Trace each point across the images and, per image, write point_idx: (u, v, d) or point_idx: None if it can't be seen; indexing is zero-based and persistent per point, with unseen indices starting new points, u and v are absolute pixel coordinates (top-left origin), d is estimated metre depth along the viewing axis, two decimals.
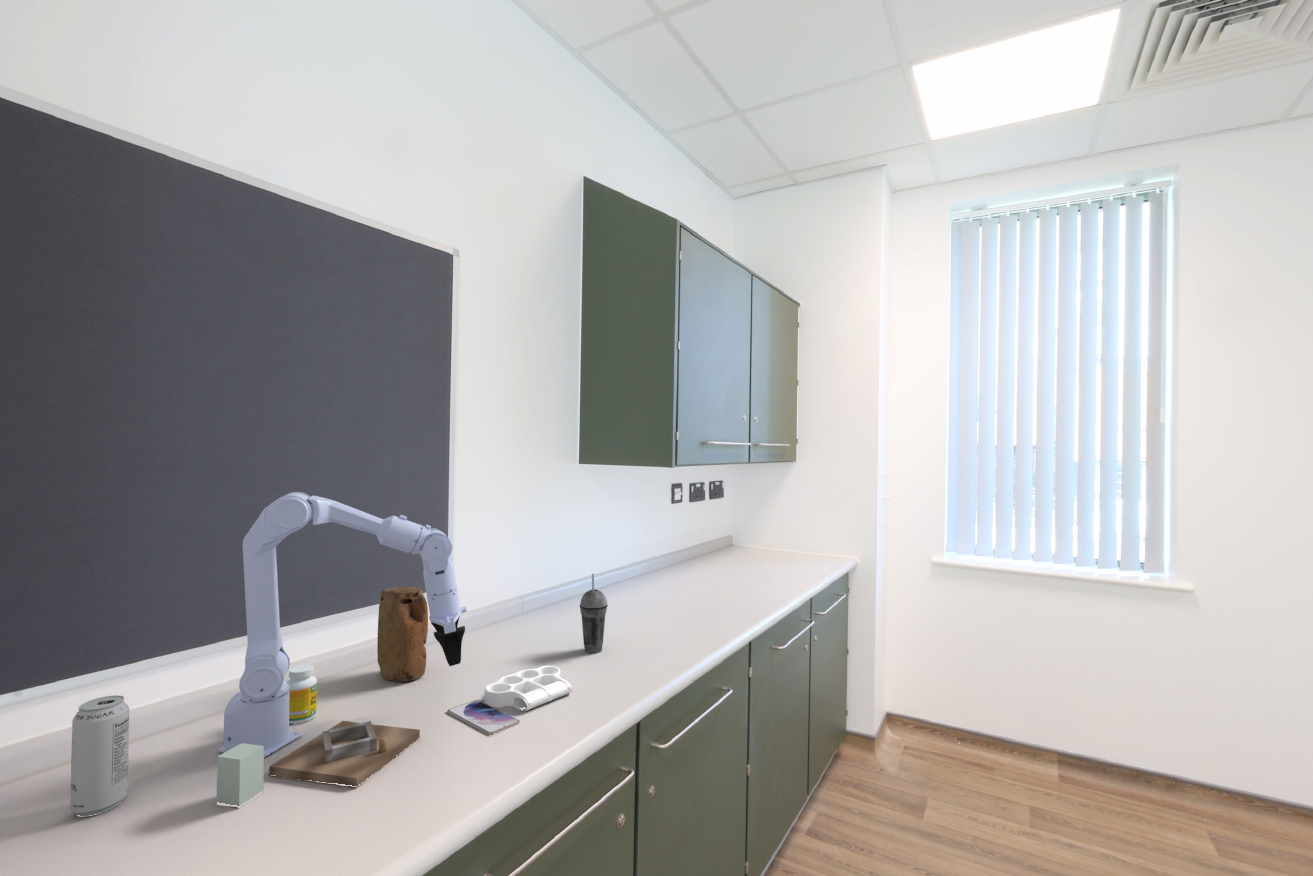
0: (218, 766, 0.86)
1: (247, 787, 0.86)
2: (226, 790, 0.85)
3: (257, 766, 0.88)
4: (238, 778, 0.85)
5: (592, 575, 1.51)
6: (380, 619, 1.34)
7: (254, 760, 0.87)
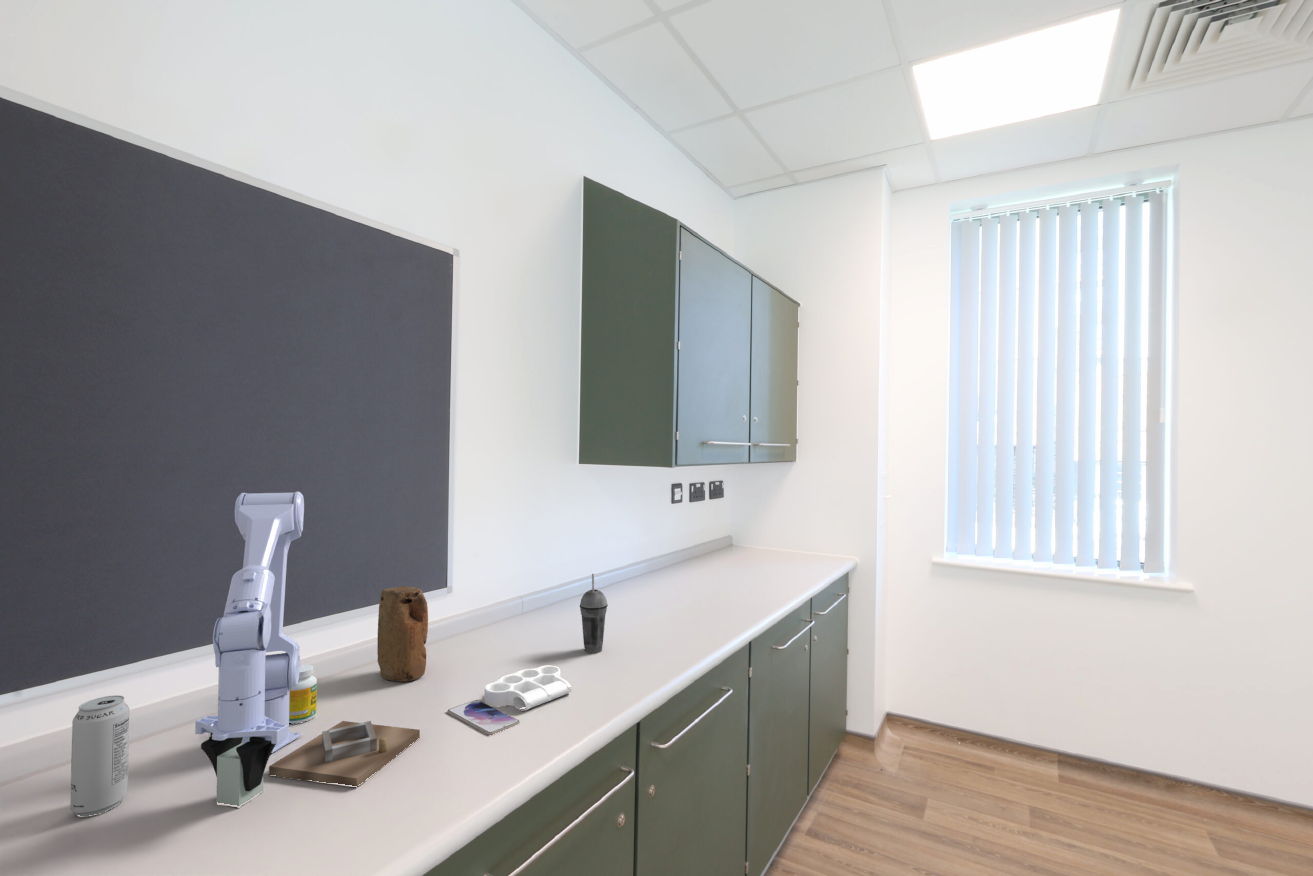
0: (218, 766, 0.86)
1: None
2: (226, 790, 0.85)
3: None
4: (238, 778, 0.85)
5: (592, 575, 1.51)
6: (380, 619, 1.34)
7: None
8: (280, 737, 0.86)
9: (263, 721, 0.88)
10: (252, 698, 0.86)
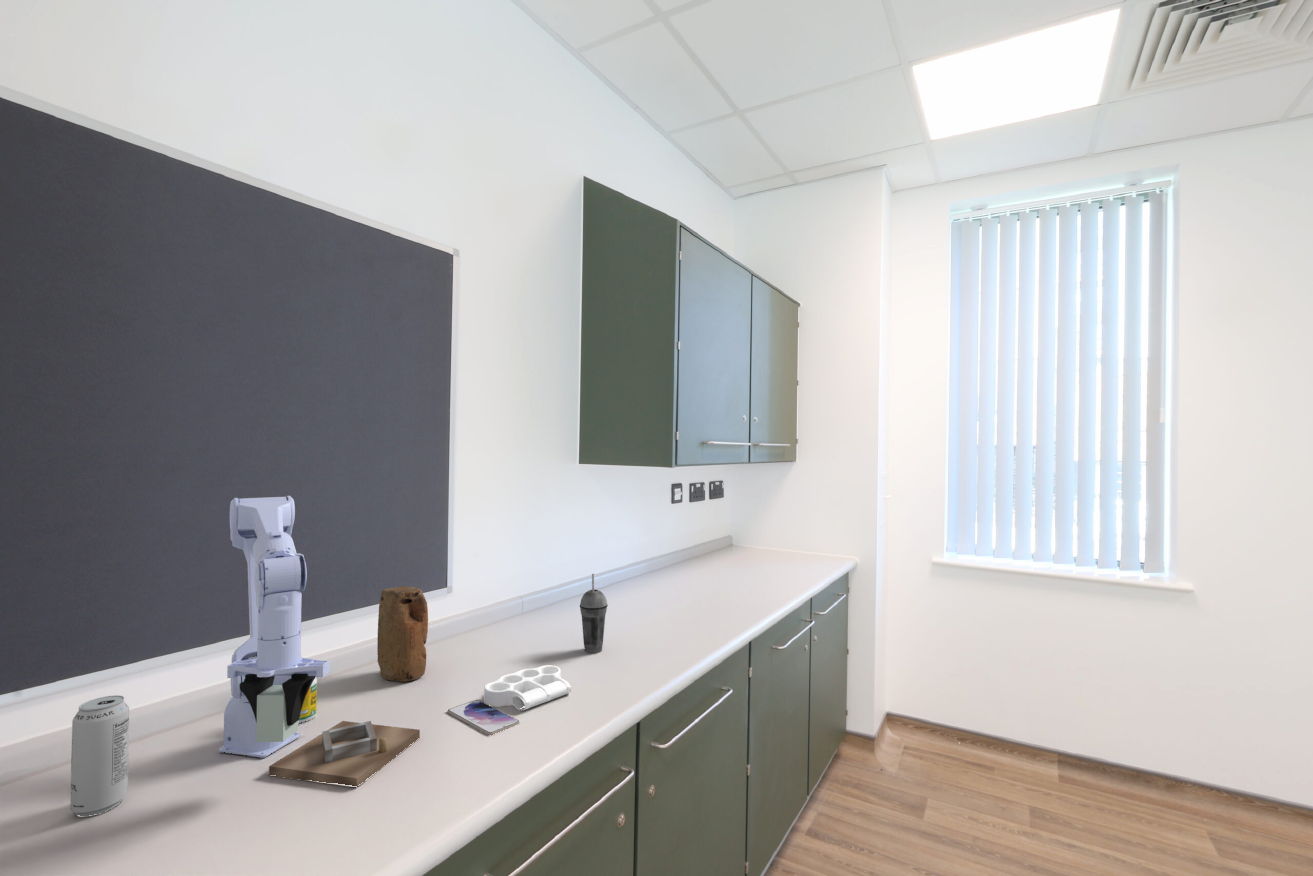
0: (258, 704, 0.89)
1: None
2: (268, 726, 0.89)
3: None
4: (282, 713, 0.89)
5: (592, 575, 1.51)
6: (380, 619, 1.34)
7: None
8: (325, 671, 0.91)
9: (301, 660, 0.93)
10: (294, 637, 0.91)
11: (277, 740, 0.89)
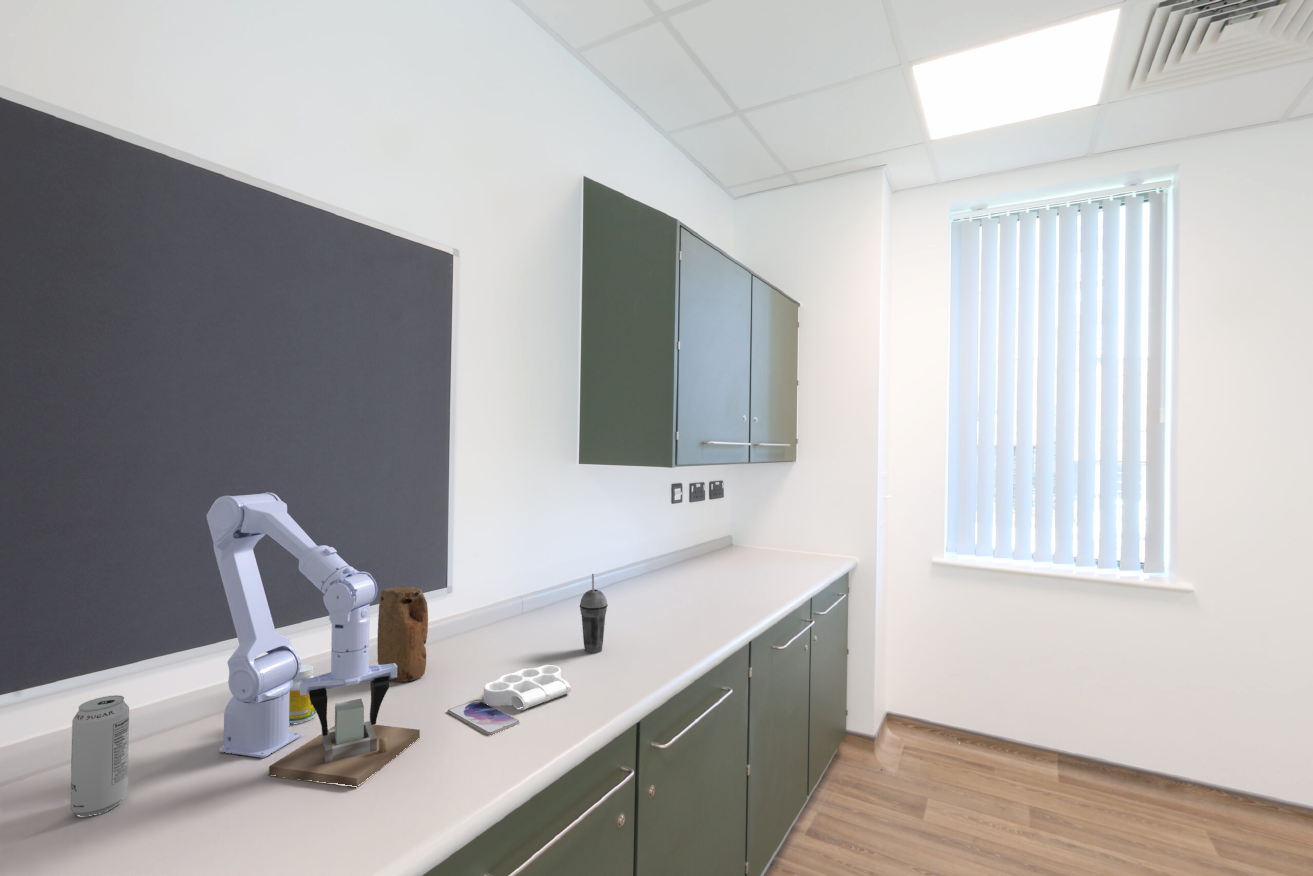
0: (338, 720, 0.97)
1: None
2: (348, 738, 0.98)
3: None
4: (362, 723, 0.99)
5: (592, 575, 1.51)
6: (380, 619, 1.34)
7: None
8: None
9: None
10: None
11: None
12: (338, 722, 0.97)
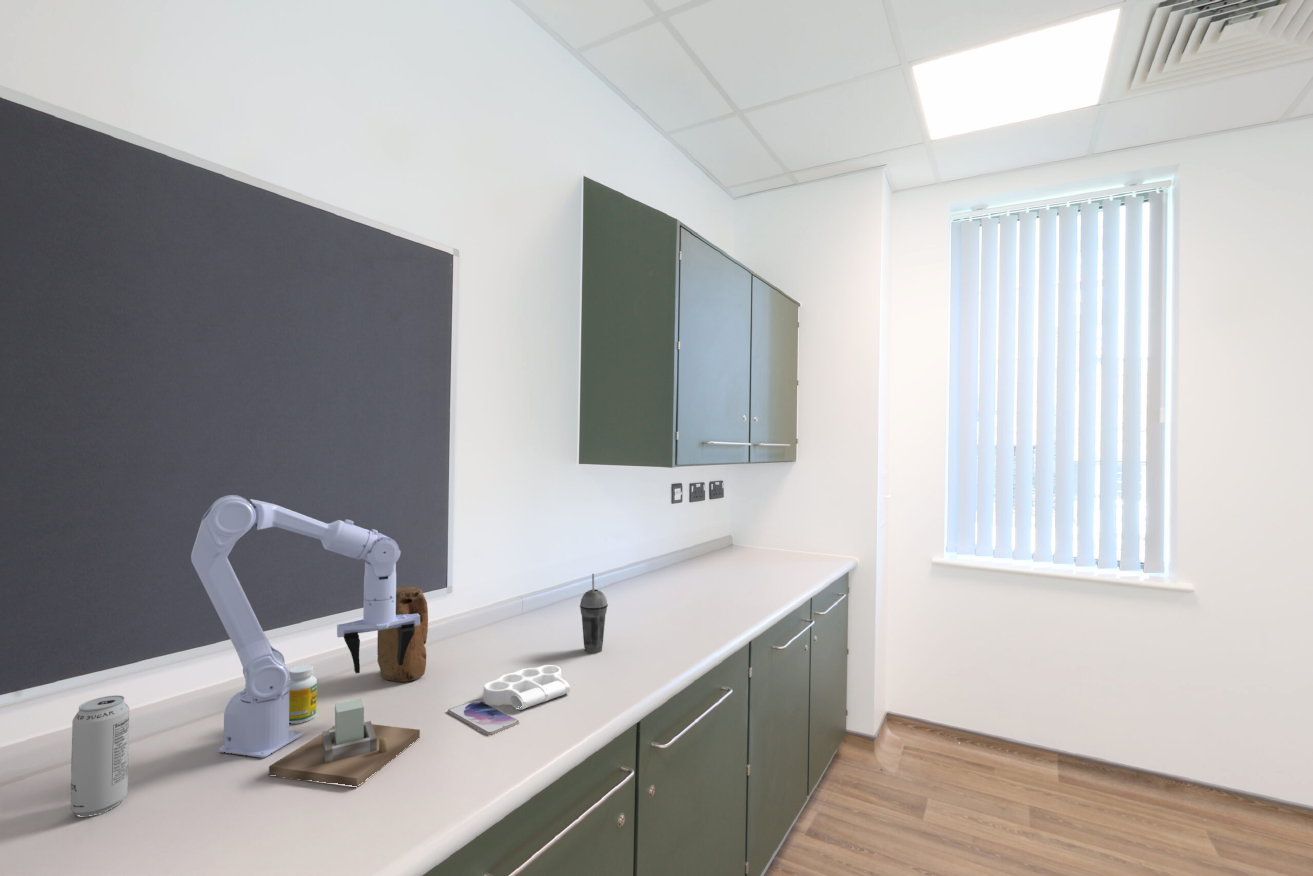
0: (338, 720, 0.97)
1: None
2: (348, 738, 0.98)
3: None
4: (362, 723, 0.99)
5: (592, 575, 1.51)
6: None
7: None
8: None
9: None
10: (395, 597, 1.16)
11: None
12: (338, 722, 0.97)
